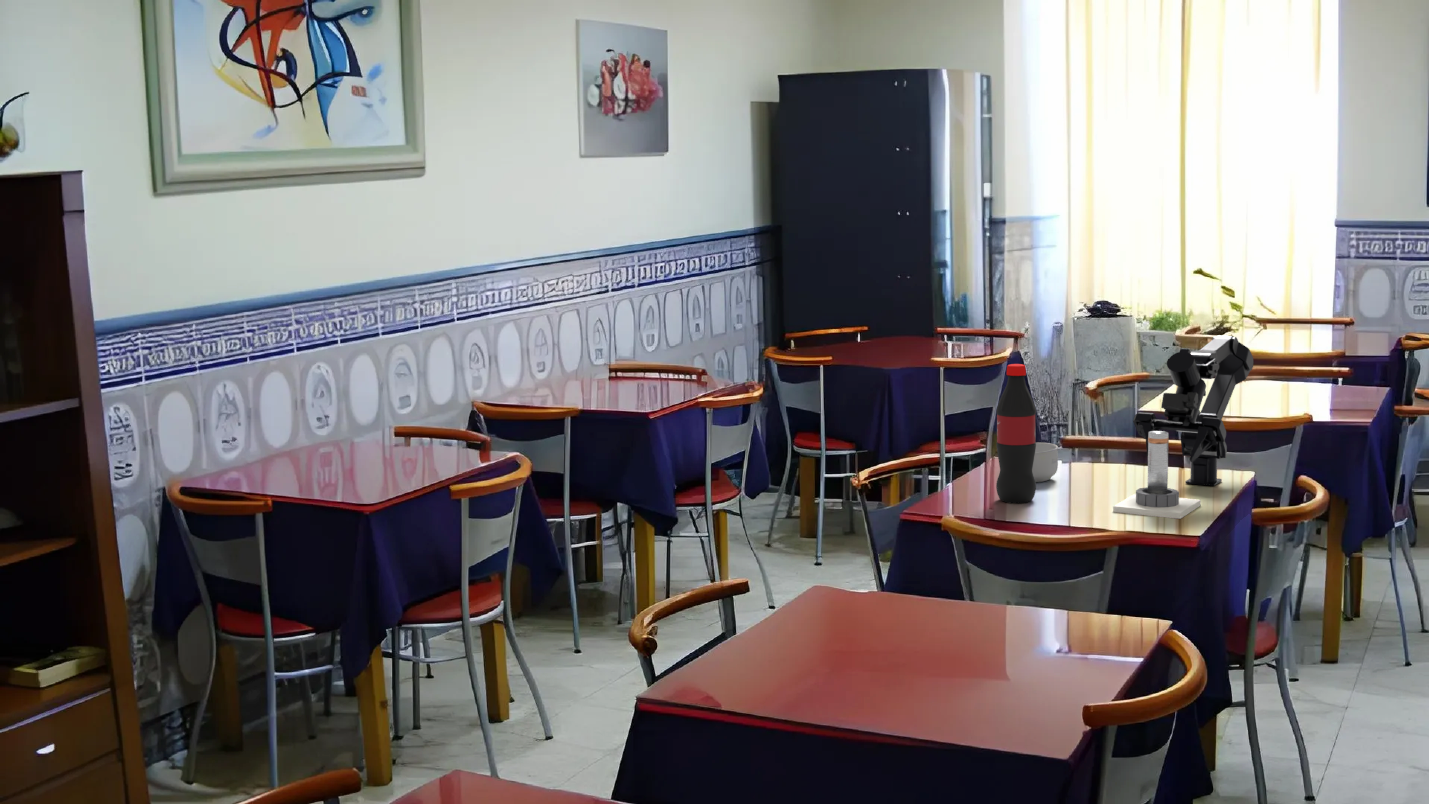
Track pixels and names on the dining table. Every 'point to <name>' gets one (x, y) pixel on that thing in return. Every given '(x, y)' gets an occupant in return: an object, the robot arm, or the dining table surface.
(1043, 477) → the teacup
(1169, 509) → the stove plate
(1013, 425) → the cola bottle
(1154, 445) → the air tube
